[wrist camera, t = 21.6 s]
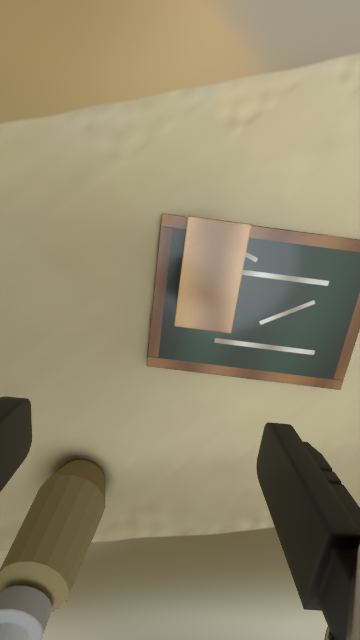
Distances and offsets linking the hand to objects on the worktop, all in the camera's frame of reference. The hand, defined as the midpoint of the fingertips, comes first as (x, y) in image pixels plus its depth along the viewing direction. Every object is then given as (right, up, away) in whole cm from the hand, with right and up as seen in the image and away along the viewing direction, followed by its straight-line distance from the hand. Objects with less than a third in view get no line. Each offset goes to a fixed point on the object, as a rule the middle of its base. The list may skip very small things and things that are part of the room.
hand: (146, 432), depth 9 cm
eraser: (+4, +9, +17) cm, 20 cm away
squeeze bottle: (-12, -17, +25) cm, 33 cm away
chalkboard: (+9, +5, +19) cm, 22 cm away
